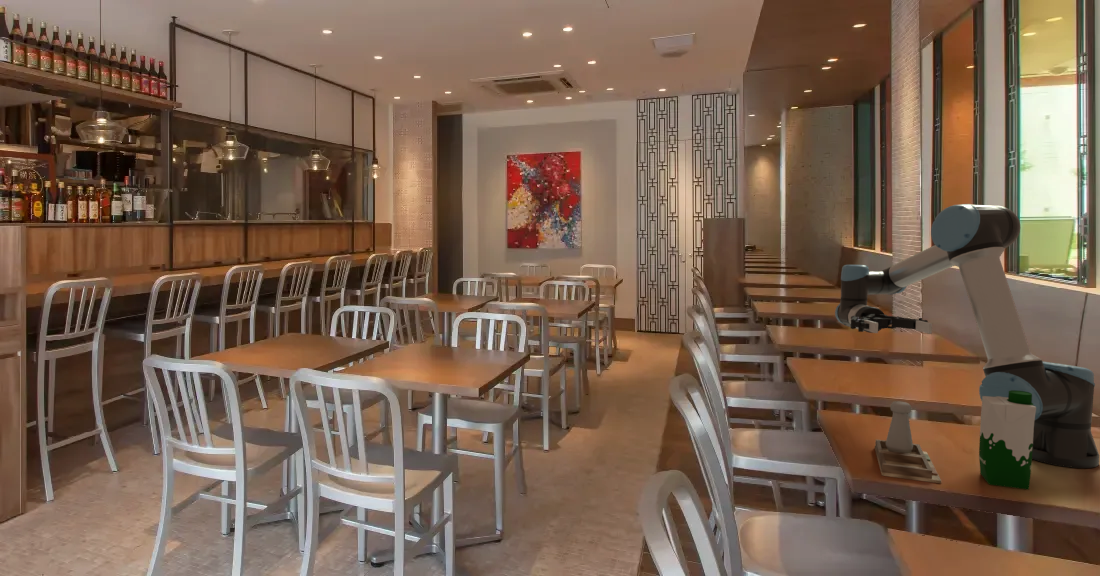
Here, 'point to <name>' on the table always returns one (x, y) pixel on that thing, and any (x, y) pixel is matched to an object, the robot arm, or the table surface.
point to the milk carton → (1007, 439)
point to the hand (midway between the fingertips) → (903, 328)
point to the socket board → (906, 463)
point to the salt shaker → (900, 429)
